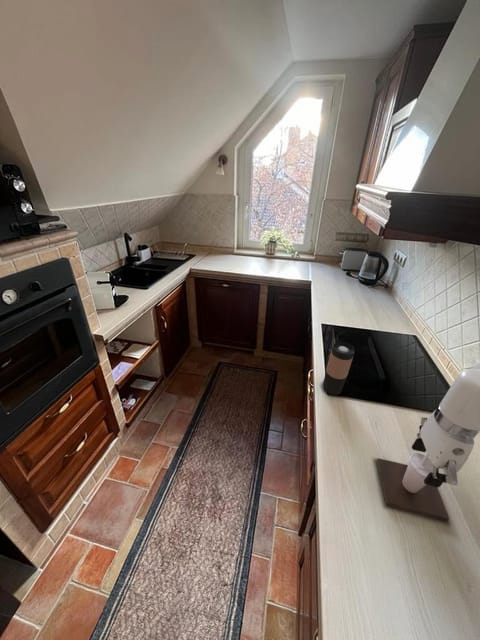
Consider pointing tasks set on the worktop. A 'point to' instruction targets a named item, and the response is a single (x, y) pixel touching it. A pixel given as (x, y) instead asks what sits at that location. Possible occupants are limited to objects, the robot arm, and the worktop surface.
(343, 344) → the travel mug
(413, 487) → the smoothie
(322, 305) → the worktop surface
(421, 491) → the walnut board
